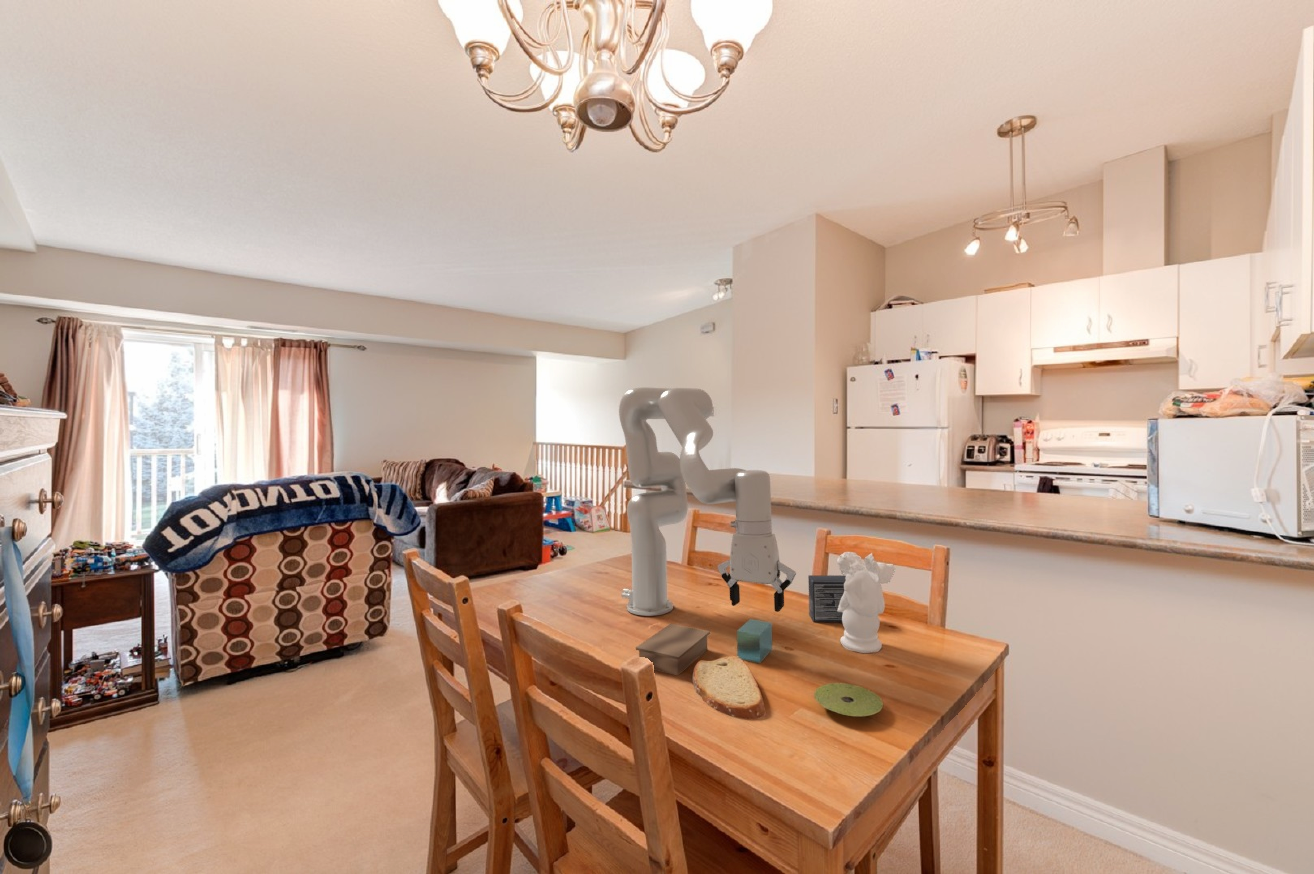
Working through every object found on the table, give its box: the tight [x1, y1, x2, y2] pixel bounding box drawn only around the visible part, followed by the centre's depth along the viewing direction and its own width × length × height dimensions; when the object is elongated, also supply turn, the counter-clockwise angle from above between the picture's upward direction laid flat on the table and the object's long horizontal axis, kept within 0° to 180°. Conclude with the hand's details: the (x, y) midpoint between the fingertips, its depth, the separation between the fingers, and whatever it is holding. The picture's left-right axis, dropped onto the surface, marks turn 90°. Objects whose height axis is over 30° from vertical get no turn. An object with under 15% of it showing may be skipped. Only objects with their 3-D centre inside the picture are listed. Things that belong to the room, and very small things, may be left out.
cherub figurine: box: [836, 551, 896, 654], centre depth 120 cm, size 12×12×22 cm
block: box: [736, 618, 773, 664], centre depth 117 cm, size 5×8×6 cm, turn 150°
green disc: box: [814, 682, 884, 718], centre depth 93 cm, size 11×11×2 cm
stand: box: [635, 623, 711, 676], centre depth 115 cm, size 10×15×4 cm, turn 150°
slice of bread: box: [691, 655, 766, 720], centre depth 102 cm, size 18×18×4 cm
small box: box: [807, 574, 846, 624], centre depth 137 cm, size 11×6×10 cm, turn 84°
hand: (756, 606), depth 116 cm, fingers open, 9 cm apart
